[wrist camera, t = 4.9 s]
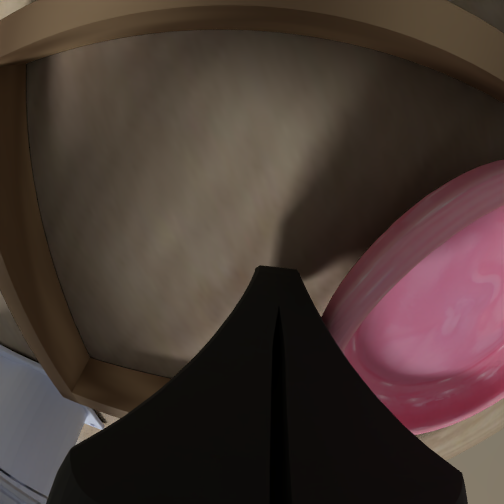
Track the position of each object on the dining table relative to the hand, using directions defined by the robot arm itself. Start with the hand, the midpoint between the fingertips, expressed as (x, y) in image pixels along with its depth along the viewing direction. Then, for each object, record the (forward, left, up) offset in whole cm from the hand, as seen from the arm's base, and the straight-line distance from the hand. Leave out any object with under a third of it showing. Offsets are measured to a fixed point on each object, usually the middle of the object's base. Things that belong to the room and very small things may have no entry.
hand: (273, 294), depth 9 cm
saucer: (+7, 0, -1) cm, 8 cm away
